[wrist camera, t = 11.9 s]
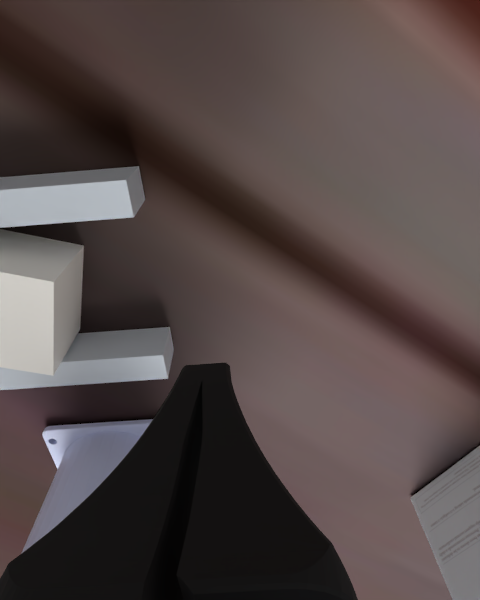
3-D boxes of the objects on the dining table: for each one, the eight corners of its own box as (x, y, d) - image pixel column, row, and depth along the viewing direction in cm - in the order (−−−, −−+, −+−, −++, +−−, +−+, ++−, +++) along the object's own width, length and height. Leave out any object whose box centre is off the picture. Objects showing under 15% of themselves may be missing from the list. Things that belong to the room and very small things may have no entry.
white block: (81, 327, 22) (53, 375, 19) (-35, 307, 22) (-86, 353, 18) (84, 244, 20) (54, 282, 17) (-46, 218, 19) (-107, 251, 16)
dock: (173, 349, 23) (167, 378, 21) (-19, 362, 23) (-45, 393, 21) (138, 166, 18) (126, 179, 16) (-106, 185, 18) (-151, 202, 16)
